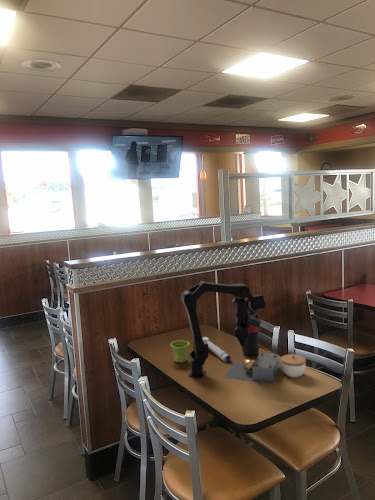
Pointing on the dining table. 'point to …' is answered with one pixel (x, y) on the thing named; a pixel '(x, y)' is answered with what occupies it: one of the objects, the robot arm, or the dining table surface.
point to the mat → (242, 373)
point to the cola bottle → (251, 339)
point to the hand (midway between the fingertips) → (243, 343)
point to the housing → (265, 367)
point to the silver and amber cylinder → (248, 364)
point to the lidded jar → (293, 365)
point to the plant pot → (180, 350)
